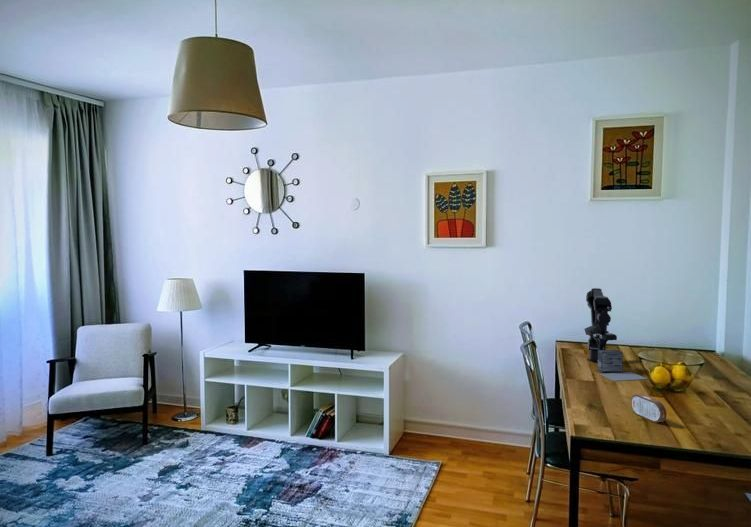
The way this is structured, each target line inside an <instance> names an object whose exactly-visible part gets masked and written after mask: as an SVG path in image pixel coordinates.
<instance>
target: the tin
mask: <svg viewBox="0 0 751 527" xmlns="http://www.w3.org/2000/svg"><path fill="white" fill-rule="evenodd" d="M630 405H631V409H632V410H633V412H634V413H635V414H636V415H637V416H639V417H641V418H644V419H646V420H647V421H651V423H662V422H664V421H665V420H666V419H667V409H666V407H665V405H664V404H663V402H662V401H661V400H659V399H656V398H655V397H651V396H650V395H649V396H648V395H646V394H645V393H638V394H637V393H636V394H634V395H632V396H631V398H630Z"/></svg>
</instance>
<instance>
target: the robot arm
mask: <svg viewBox="0 0 751 527" xmlns="http://www.w3.org/2000/svg"><path fill="white" fill-rule="evenodd" d="M585 299H586V300H585V302H586V303H587V306H588V308H589V309H590V320H591V321H590V322H591V325H590V326H588V327H586V328H584V329H583V330H584V332H585V336H589V338H588V340H587V350H588V351H589V358H587V360H588V361H590V362H592V363H598V350H607V349H606V348H607V342H608V341H617V340H618V335H616V334H615V333H612V332H611V333H610V332H609V331H608V326H610V324H609V323H610V322H611V319H612V318H611V315H610V314H609V313H608V312H612V309H613V308H612V307H613V306H612V301H611V300H610V299H609V297H608V296H605V295H604V293H603V291H602V288H599V287H595V288H591V289H590V290H589V291H587V293H586V297H585Z"/></svg>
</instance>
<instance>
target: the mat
mask: <svg viewBox="0 0 751 527" xmlns="http://www.w3.org/2000/svg"><path fill="white" fill-rule="evenodd" d="M601 375H602V377H604V378H605V379H608V380H611V381H613V382H624V381H625V382H626V380H629V381H645V380H648V378H646V377H644V376H641V375H639V374H638V373H637V374H636V373H634V372H632V371H630V372H628V371H627V372H623V373H620V372H605V373H599V376H601Z"/></svg>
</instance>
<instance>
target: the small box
mask: <svg viewBox="0 0 751 527" xmlns="http://www.w3.org/2000/svg"><path fill="white" fill-rule="evenodd" d="M623 354H624V353H623V352H622V351H620V350H619V349H606V350H598V362H597V370H598V371H599V372H601V373H624V371H623V369H624V367H623V366H624V363H623V362H624V361H623V360H624V359H623V358H624V357H623Z"/></svg>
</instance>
